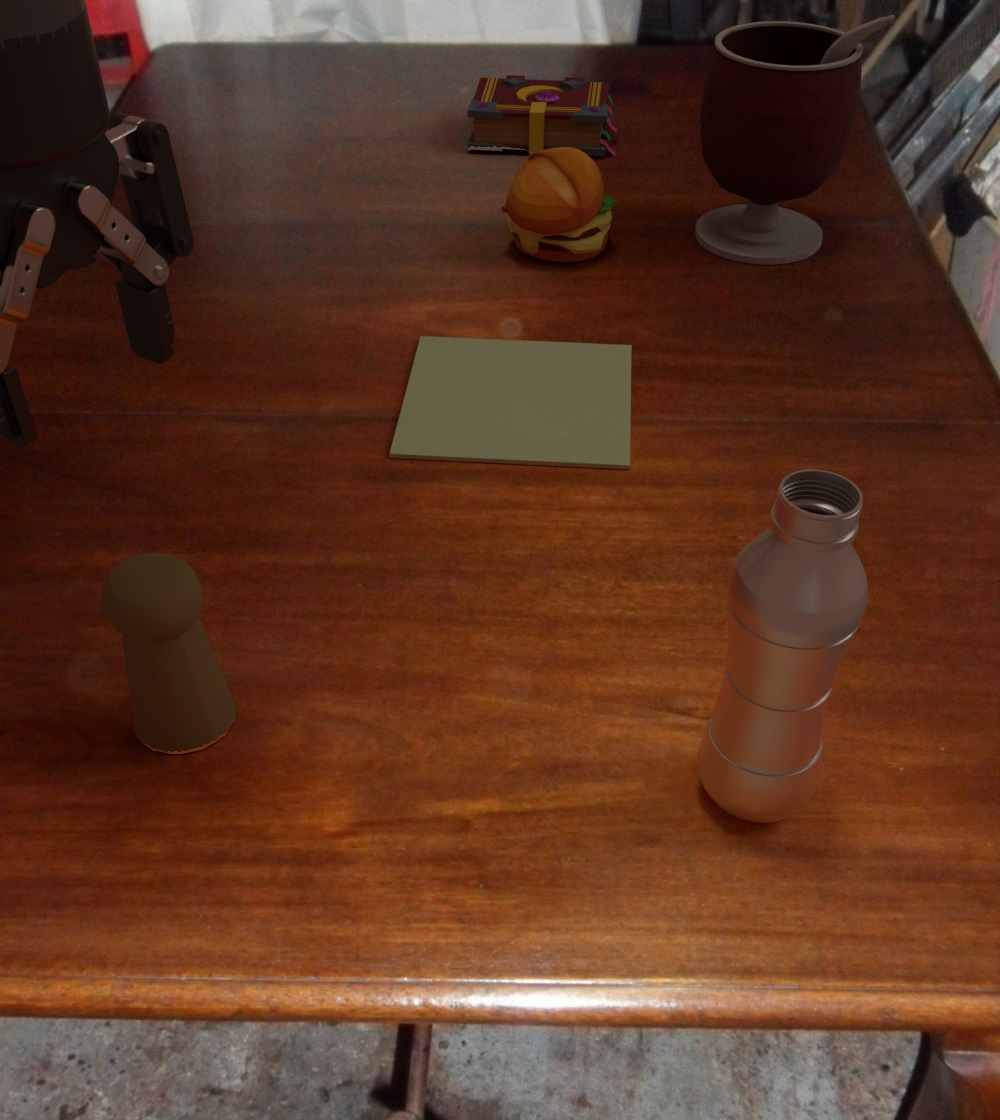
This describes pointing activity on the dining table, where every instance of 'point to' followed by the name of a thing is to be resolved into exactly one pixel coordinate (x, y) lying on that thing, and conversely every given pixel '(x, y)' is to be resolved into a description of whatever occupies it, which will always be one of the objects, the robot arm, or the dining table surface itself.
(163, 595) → the cork
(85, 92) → the robot arm
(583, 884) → the dining table surface
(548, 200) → the cheeseburger
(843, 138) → the mate gourd
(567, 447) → the mat
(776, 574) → the plastic bottle
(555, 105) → the decorative book
